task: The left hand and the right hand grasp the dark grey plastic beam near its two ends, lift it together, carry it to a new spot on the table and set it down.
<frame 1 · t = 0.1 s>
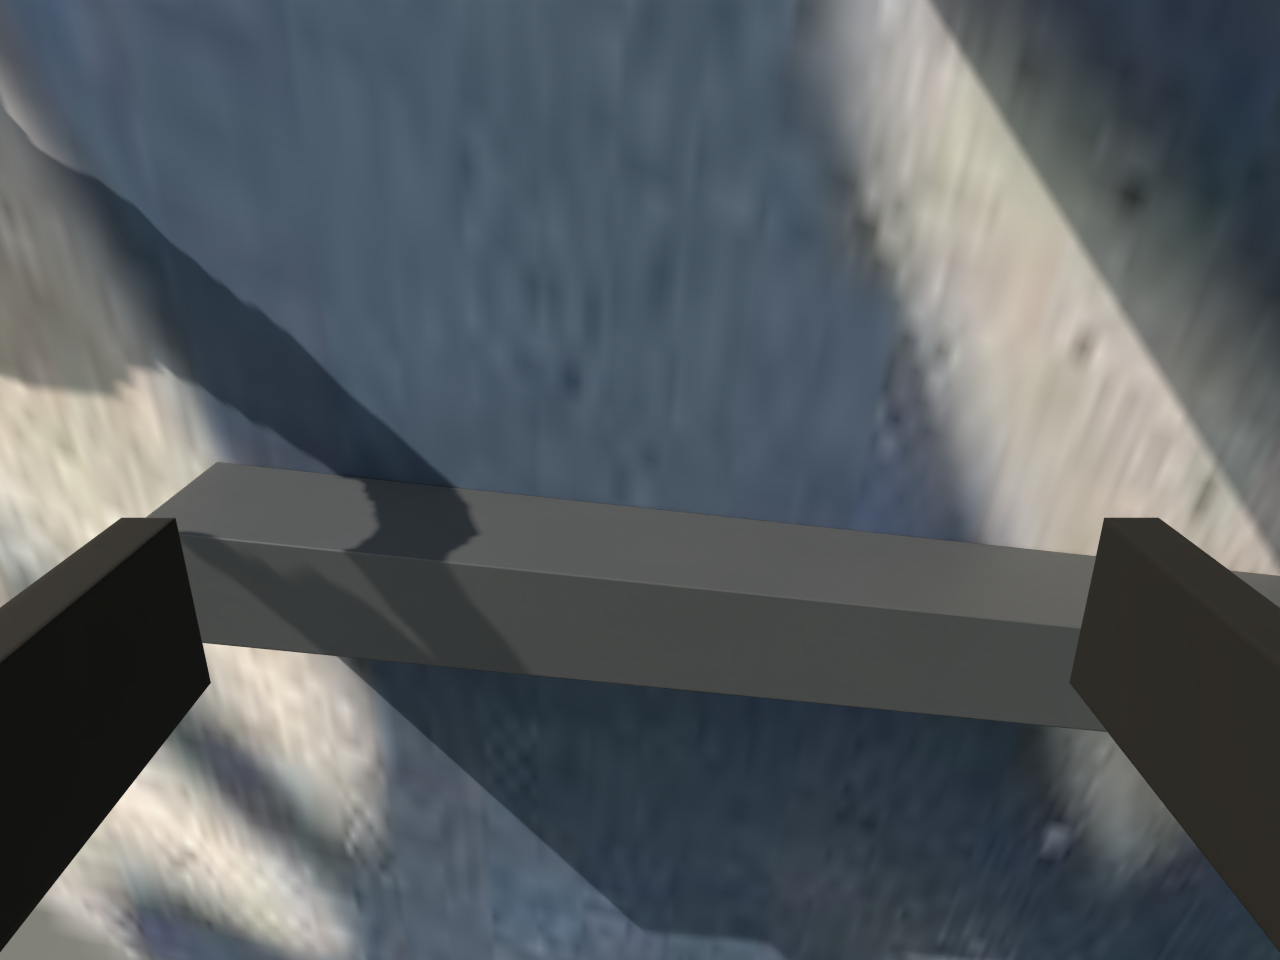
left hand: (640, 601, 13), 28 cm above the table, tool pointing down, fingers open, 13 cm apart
beam: (791, 569, 44), on the table
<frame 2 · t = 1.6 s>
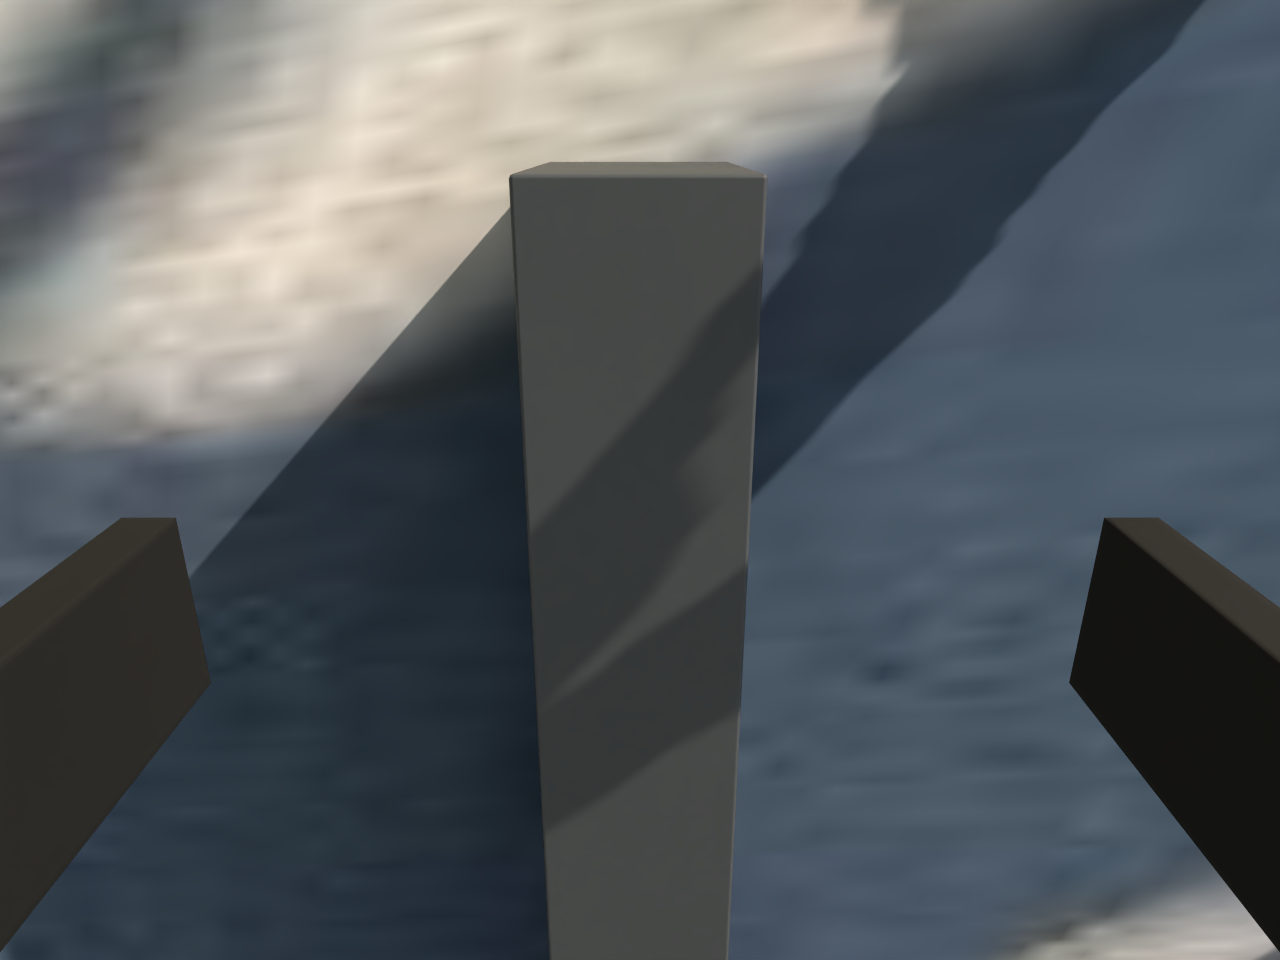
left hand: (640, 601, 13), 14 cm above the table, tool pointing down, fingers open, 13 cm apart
beam: (639, 928, 34), on the table
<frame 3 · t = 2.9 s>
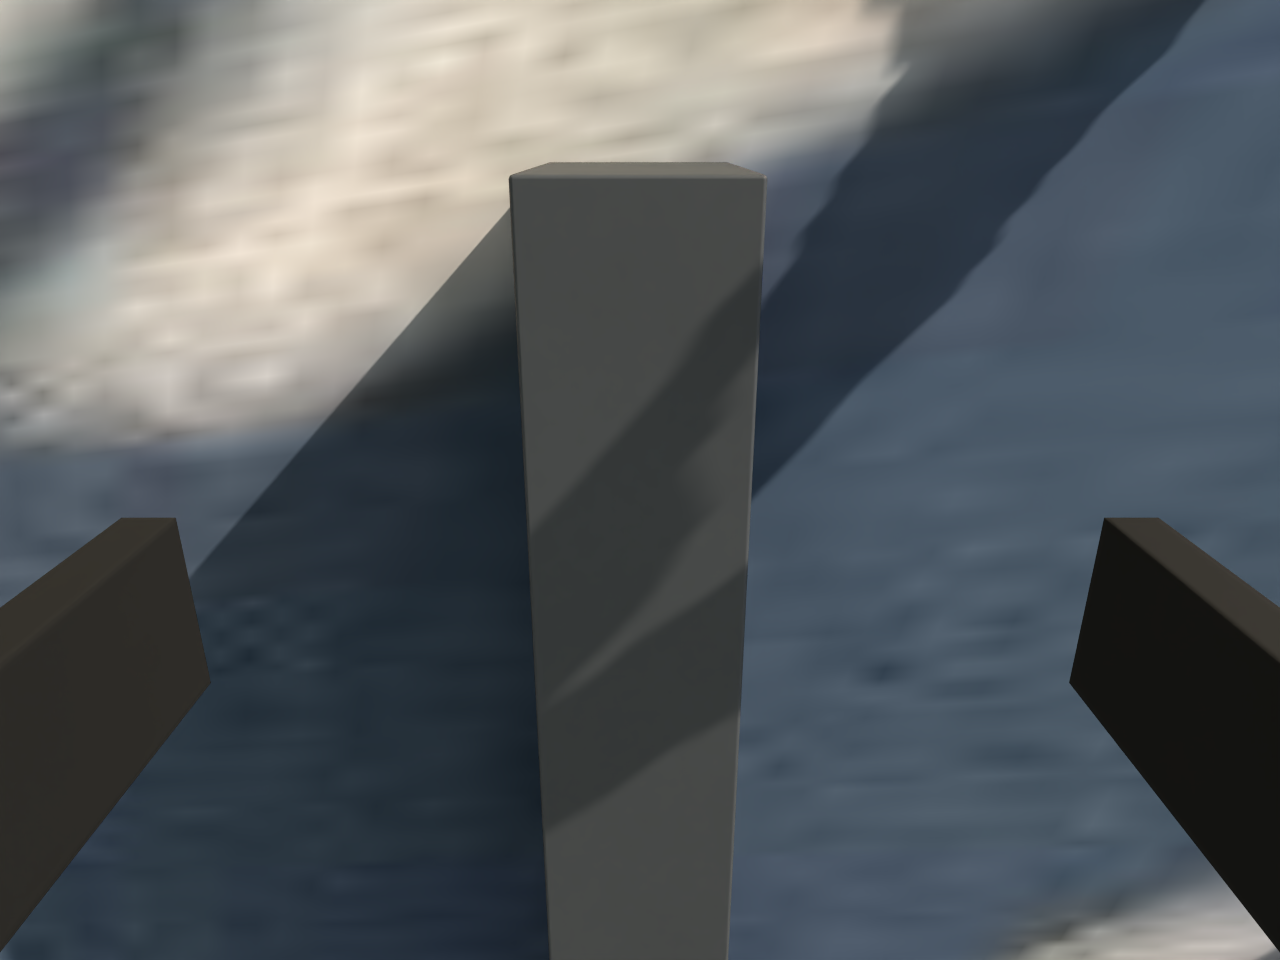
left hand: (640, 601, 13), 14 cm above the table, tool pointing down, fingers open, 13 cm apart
beam: (639, 928, 34), on the table, touching right hand
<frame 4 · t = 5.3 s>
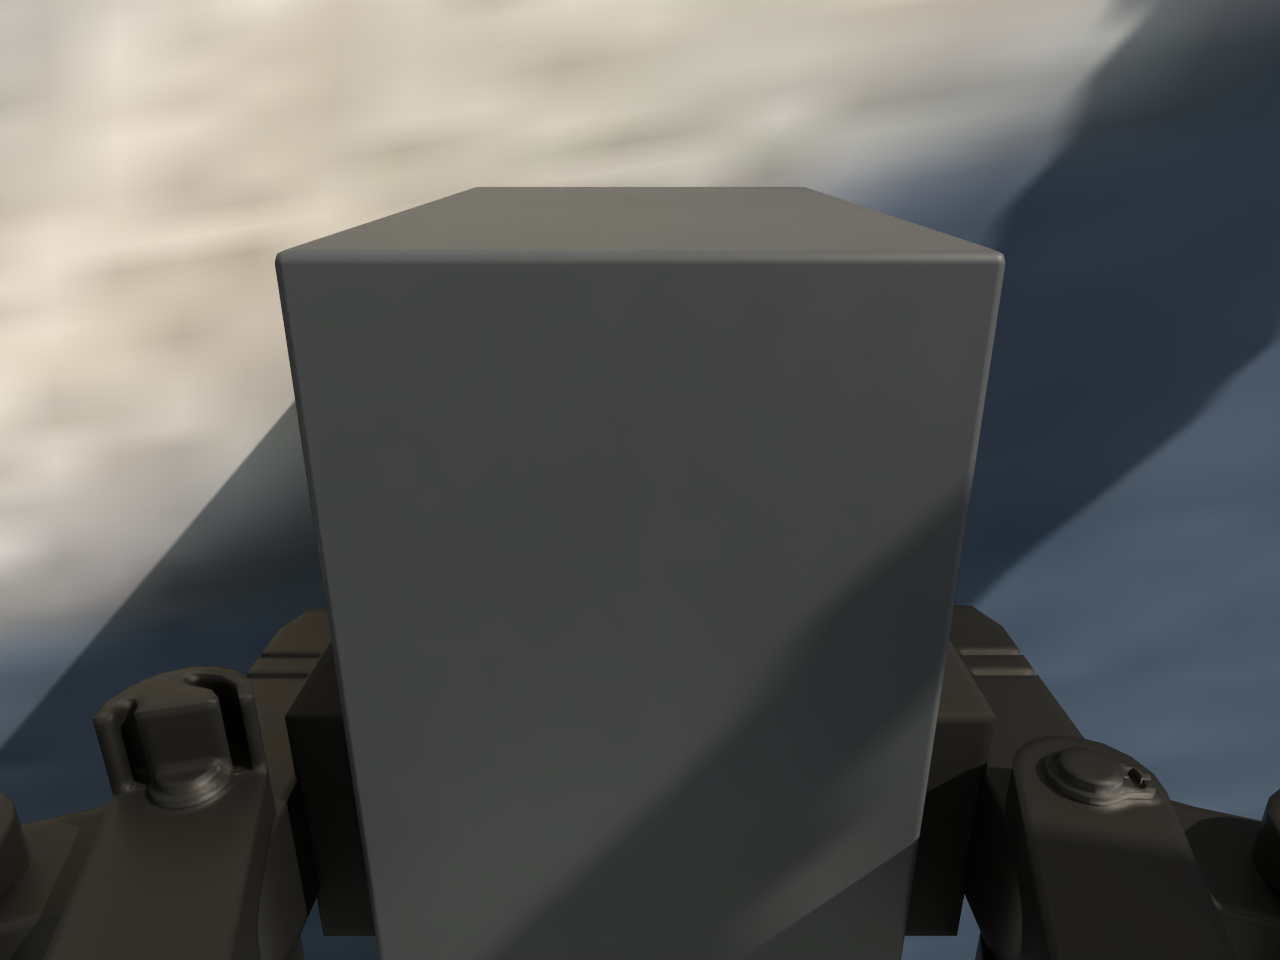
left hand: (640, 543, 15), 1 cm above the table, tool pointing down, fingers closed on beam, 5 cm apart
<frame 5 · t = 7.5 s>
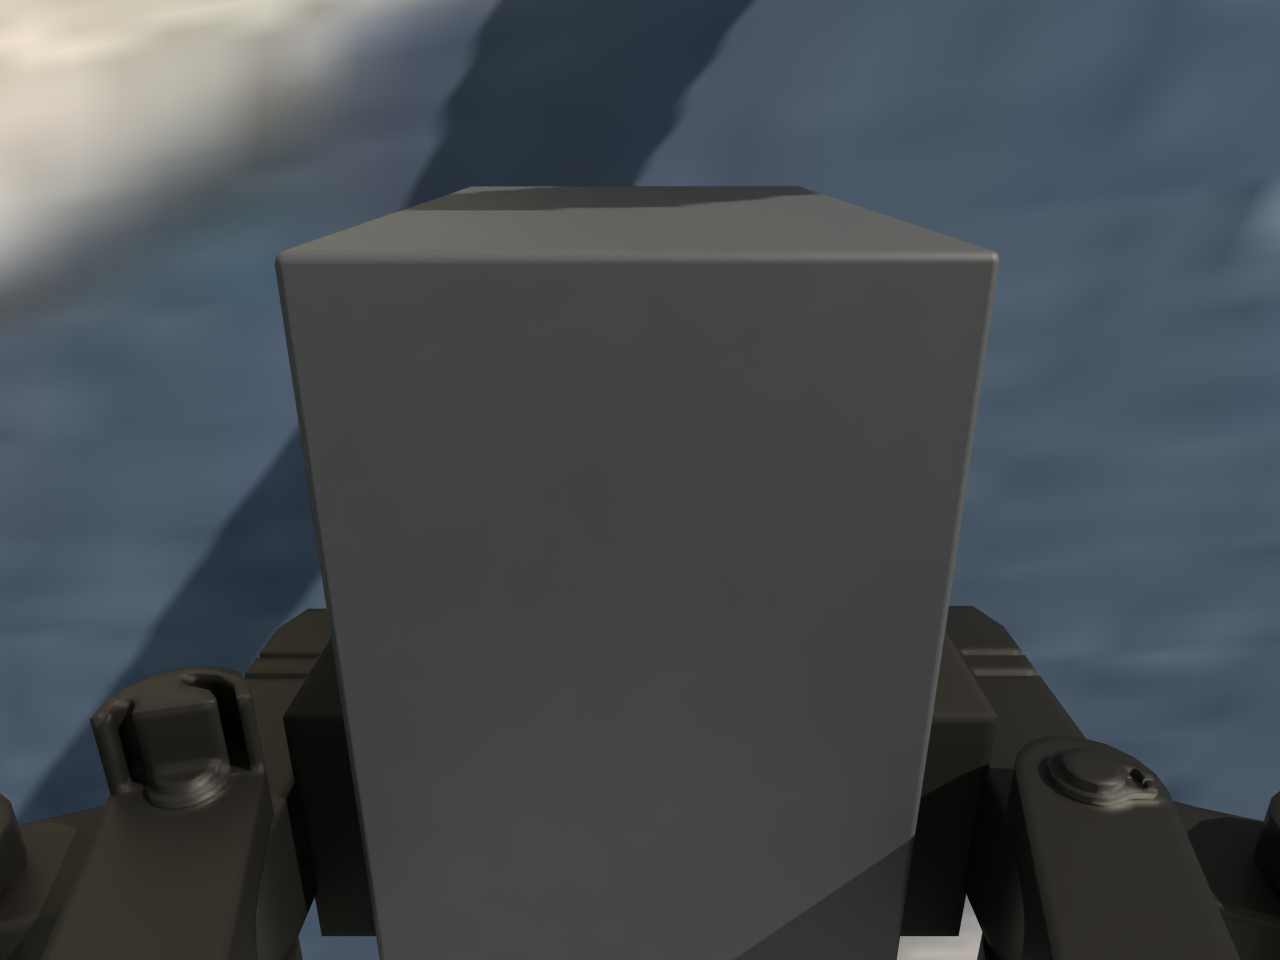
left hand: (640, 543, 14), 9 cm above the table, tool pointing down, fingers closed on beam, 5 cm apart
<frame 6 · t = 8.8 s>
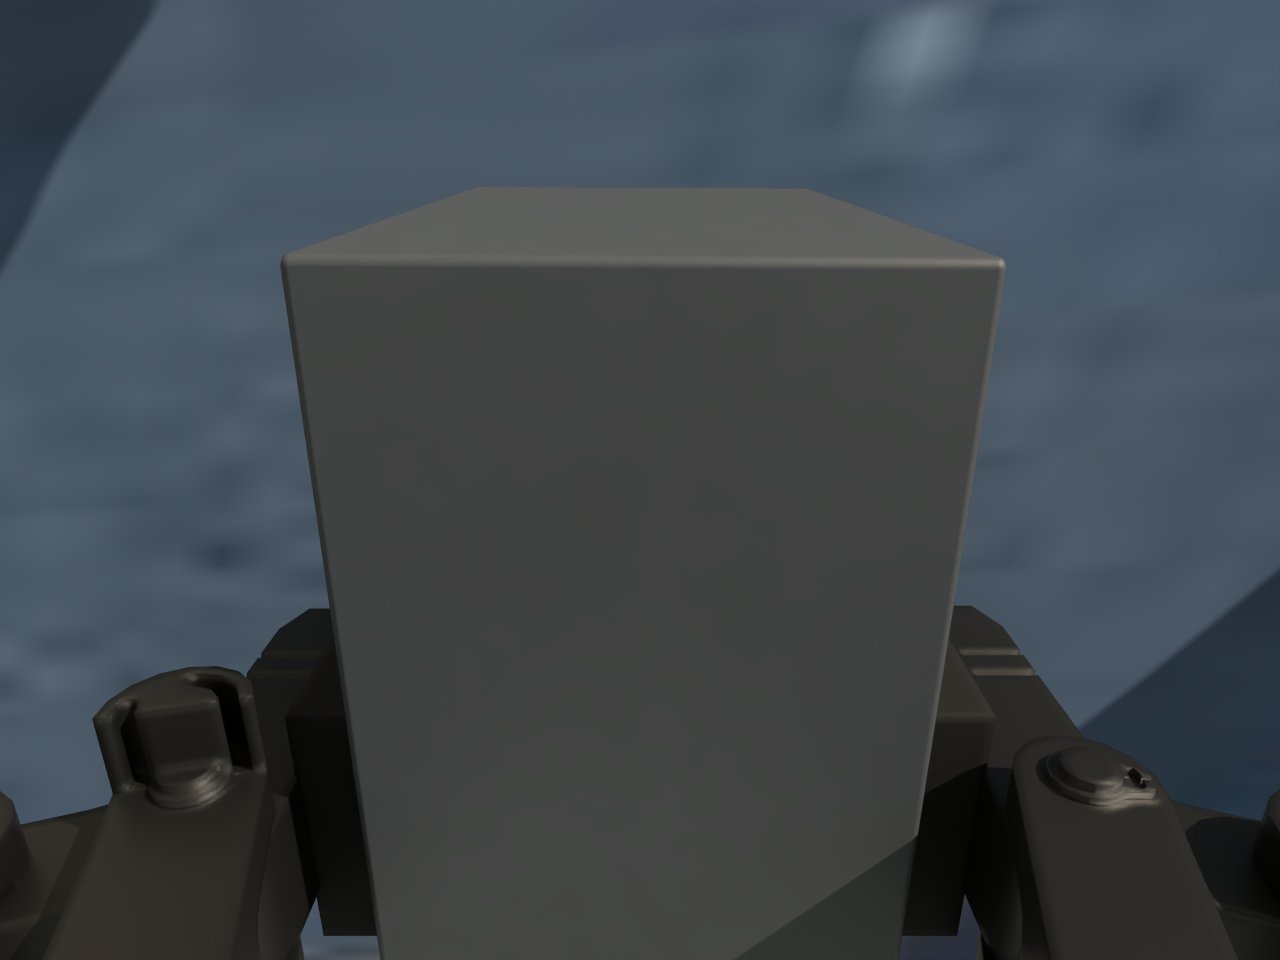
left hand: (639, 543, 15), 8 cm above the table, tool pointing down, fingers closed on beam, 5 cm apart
when the left hand's fingers open (2 cm above the table, at t = 9.7 s): beam drops 1 cm, on the table.
when the right hand's fingers open (4 cm above the table, at t = 9.8 s): beam stays where it is, on the table.
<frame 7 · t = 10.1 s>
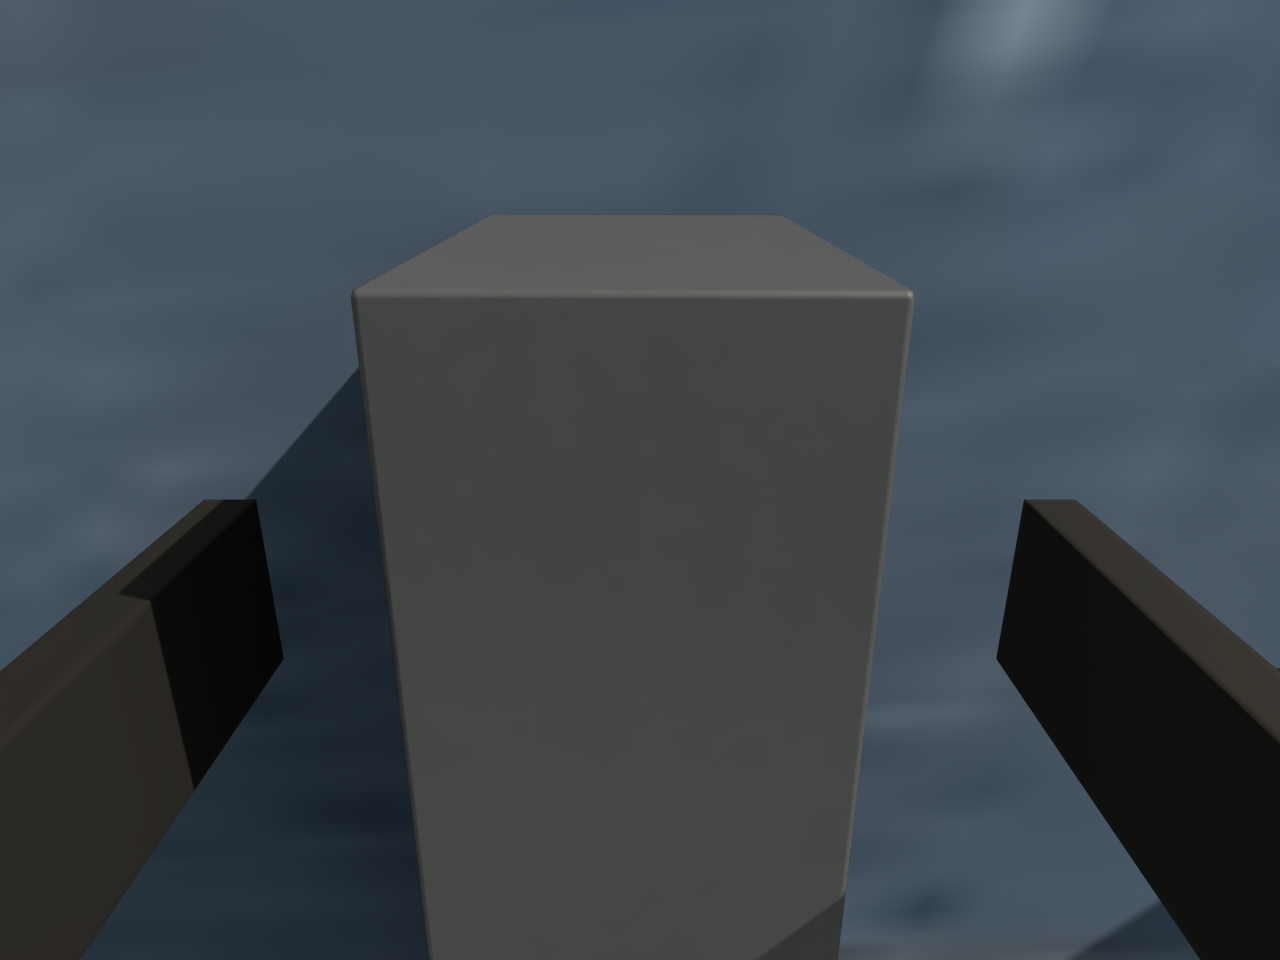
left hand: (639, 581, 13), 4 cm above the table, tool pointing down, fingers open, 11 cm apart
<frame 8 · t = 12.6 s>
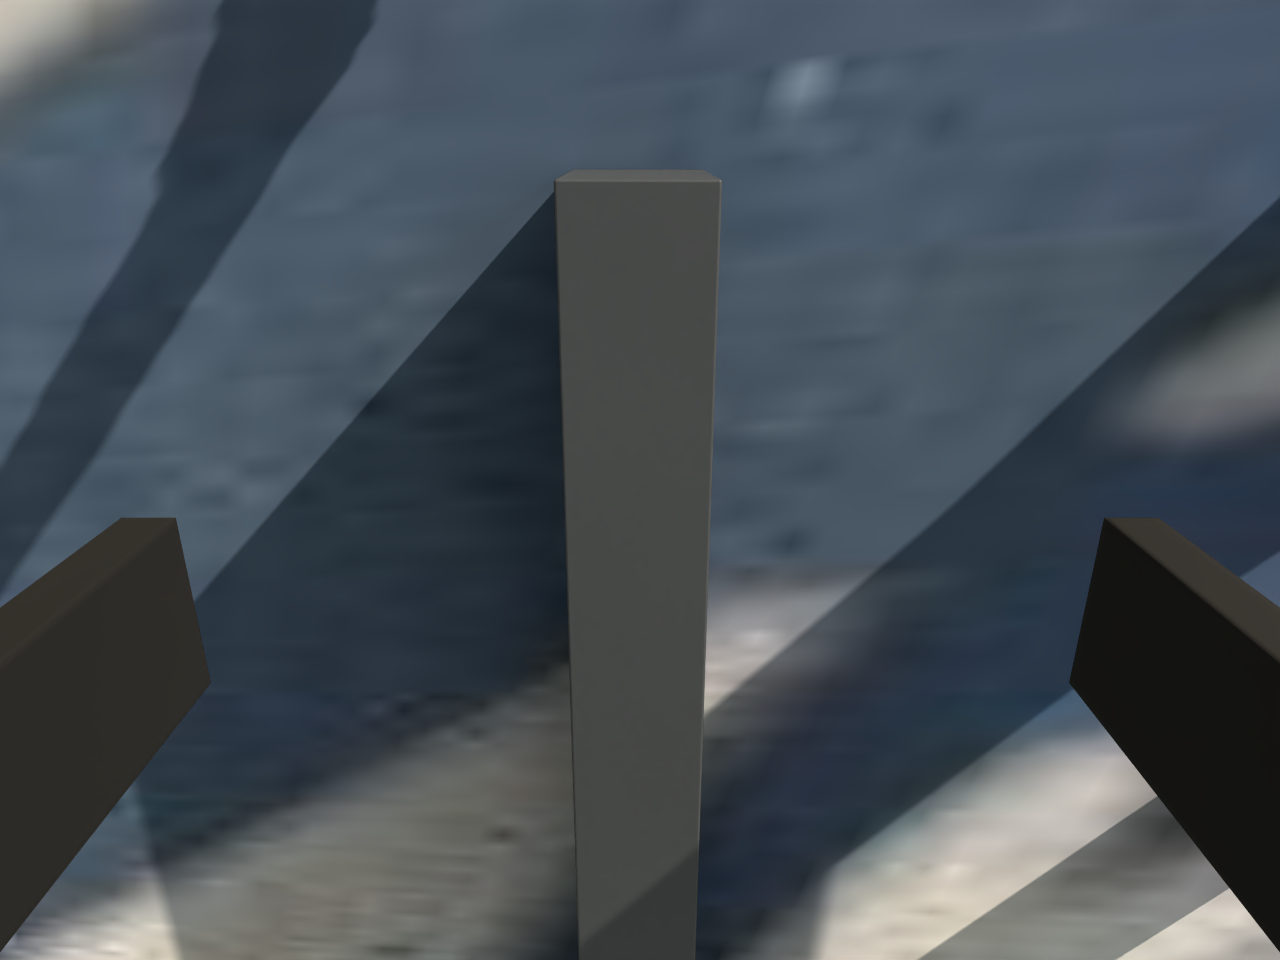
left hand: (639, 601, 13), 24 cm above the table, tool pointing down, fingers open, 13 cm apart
beam: (637, 773, 43), on the table
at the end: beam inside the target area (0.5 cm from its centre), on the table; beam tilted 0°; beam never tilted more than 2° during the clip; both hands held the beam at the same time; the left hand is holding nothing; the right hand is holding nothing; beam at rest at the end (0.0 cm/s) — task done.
